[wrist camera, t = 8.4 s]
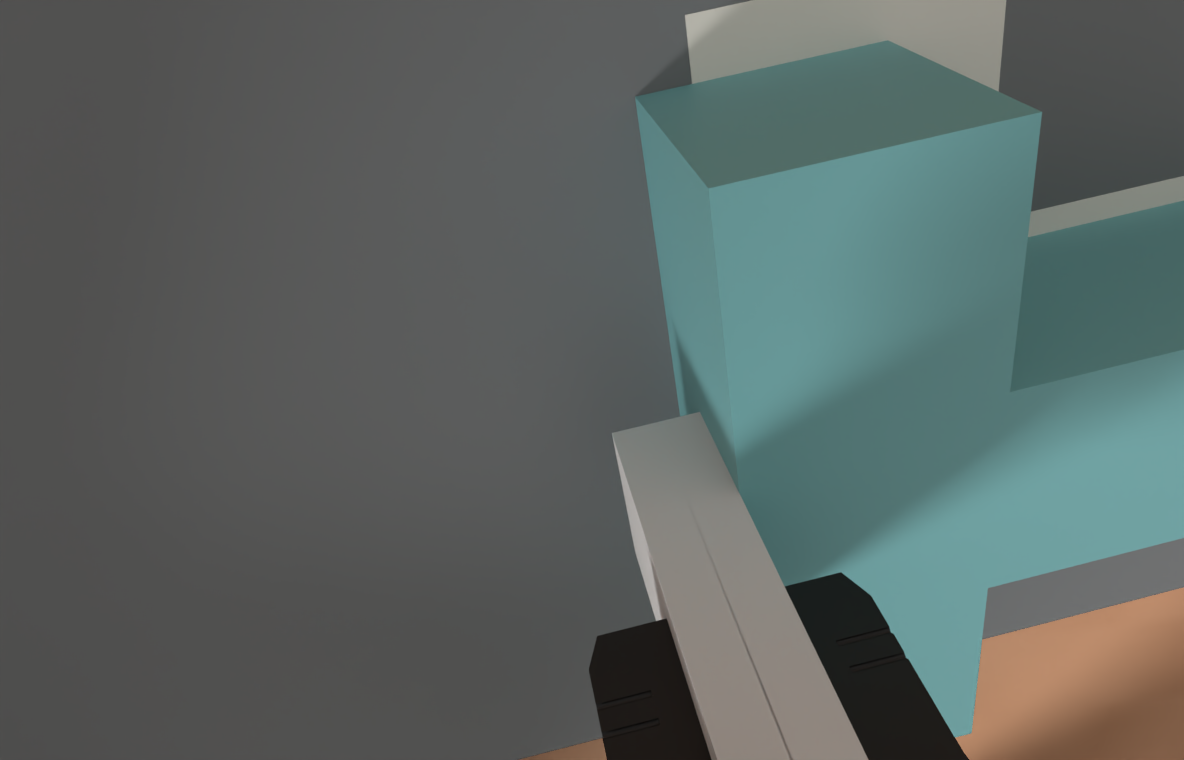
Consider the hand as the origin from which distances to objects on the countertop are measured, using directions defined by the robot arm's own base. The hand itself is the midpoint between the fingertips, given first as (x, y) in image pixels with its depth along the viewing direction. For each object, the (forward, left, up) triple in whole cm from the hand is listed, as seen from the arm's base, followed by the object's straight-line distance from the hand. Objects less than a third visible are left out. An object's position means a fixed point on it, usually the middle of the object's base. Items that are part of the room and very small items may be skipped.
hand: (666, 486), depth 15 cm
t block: (0, -7, -2) cm, 7 cm away
